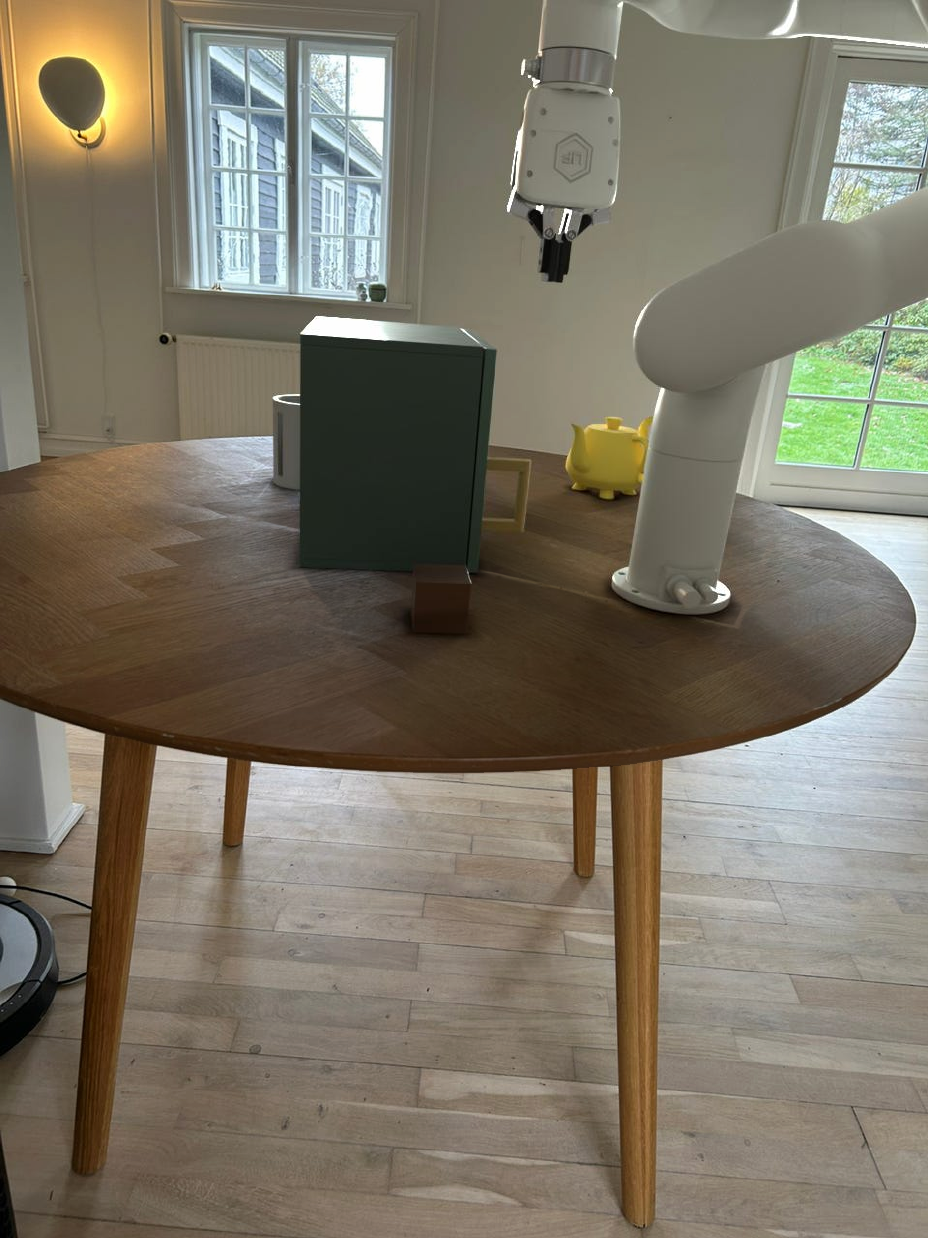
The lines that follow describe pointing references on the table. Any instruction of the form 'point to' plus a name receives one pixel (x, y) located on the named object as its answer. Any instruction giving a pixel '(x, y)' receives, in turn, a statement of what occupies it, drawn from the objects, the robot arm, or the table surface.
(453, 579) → the block
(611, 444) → the teapot
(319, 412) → the cupboard
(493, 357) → the door
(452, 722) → the table surface
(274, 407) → the cup
